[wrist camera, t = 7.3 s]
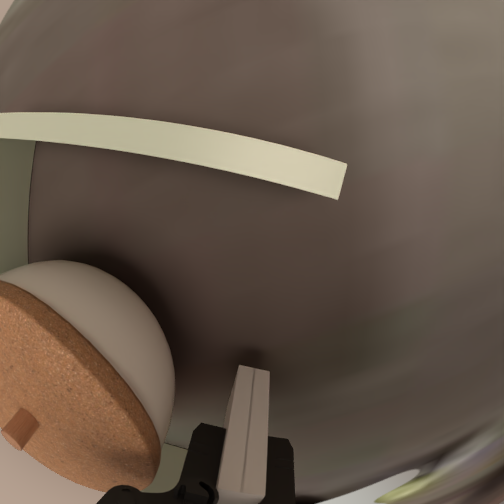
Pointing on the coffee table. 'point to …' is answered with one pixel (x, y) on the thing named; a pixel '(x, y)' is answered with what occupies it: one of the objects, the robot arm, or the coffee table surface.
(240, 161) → the bin
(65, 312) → the lidded jar
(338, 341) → the coffee table surface
